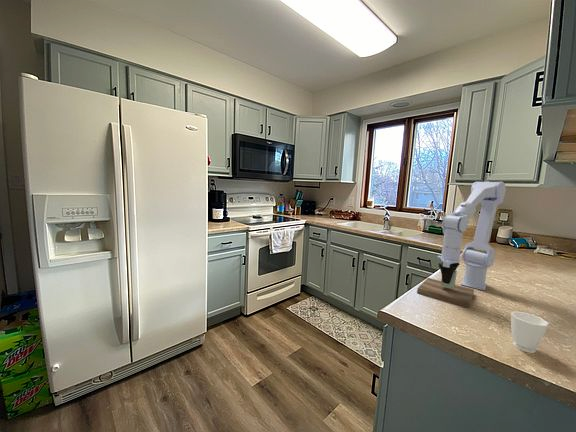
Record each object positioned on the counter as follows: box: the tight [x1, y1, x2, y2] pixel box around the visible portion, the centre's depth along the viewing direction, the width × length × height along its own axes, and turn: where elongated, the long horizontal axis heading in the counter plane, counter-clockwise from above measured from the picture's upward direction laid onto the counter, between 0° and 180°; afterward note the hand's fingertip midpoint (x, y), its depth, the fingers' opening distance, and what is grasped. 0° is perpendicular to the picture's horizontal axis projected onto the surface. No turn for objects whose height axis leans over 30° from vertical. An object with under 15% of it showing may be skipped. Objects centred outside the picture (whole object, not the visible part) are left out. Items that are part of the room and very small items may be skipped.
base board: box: [416, 277, 475, 309], centre depth 94 cm, size 16×16×2 cm
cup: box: [510, 310, 550, 354], centre depth 63 cm, size 7×10×8 cm
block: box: [440, 270, 458, 289], centre depth 93 cm, size 4×4×6 cm
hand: (446, 281), depth 93 cm, fingers closed on block, 4 cm apart
